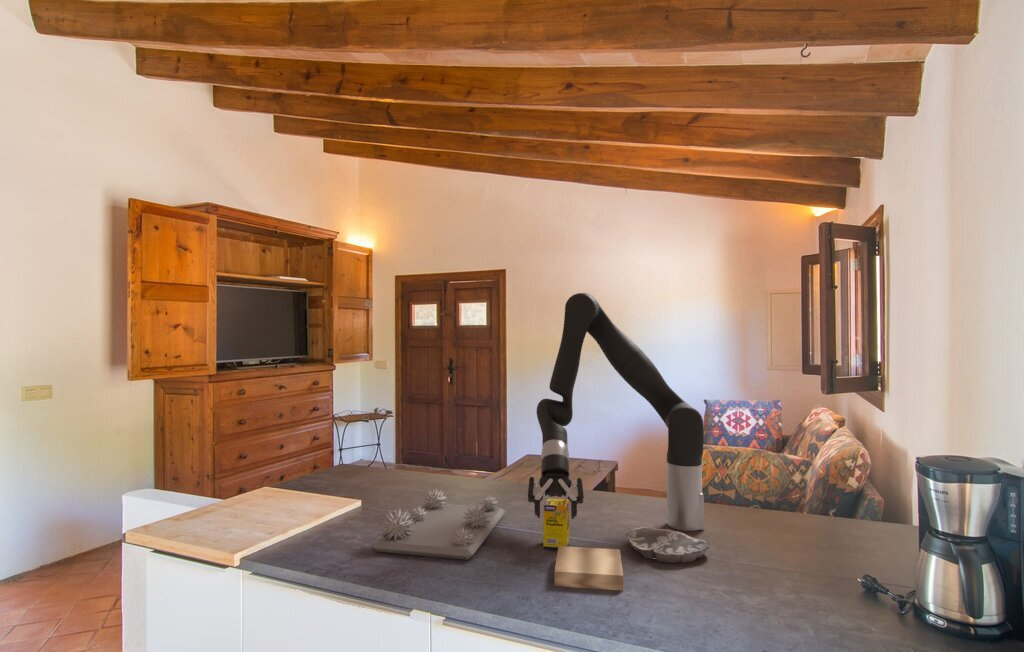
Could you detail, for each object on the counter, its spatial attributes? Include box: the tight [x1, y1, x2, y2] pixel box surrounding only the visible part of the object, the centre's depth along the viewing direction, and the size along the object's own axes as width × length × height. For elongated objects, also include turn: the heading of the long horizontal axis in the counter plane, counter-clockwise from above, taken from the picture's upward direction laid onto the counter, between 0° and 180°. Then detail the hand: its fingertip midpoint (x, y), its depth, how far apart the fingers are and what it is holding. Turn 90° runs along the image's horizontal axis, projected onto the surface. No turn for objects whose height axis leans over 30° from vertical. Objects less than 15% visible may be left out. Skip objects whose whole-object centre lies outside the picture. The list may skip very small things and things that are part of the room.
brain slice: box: [625, 526, 711, 564], centre depth 129 cm, size 20×17×3 cm
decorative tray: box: [372, 488, 506, 561], centre depth 143 cm, size 35×26×10 cm
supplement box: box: [542, 497, 570, 551], centre depth 133 cm, size 6×6×11 cm
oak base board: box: [554, 546, 624, 592], centre depth 117 cm, size 14×14×3 cm
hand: (555, 516), depth 134 cm, fingers open, 8 cm apart
